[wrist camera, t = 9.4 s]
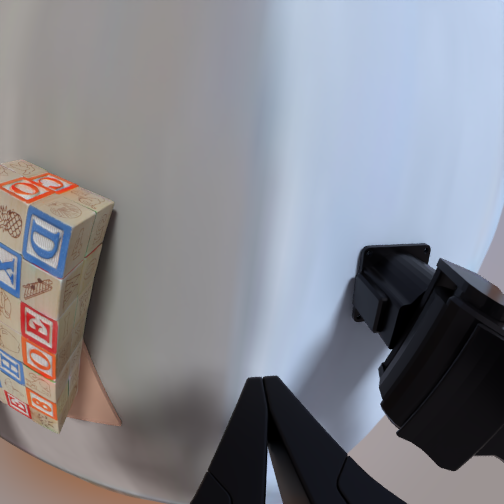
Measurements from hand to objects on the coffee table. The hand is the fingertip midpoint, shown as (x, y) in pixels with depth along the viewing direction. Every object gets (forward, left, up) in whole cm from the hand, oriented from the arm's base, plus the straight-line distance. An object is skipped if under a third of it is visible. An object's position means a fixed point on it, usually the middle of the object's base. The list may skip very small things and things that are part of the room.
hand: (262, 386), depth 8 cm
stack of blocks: (+13, +6, -9) cm, 17 cm away
